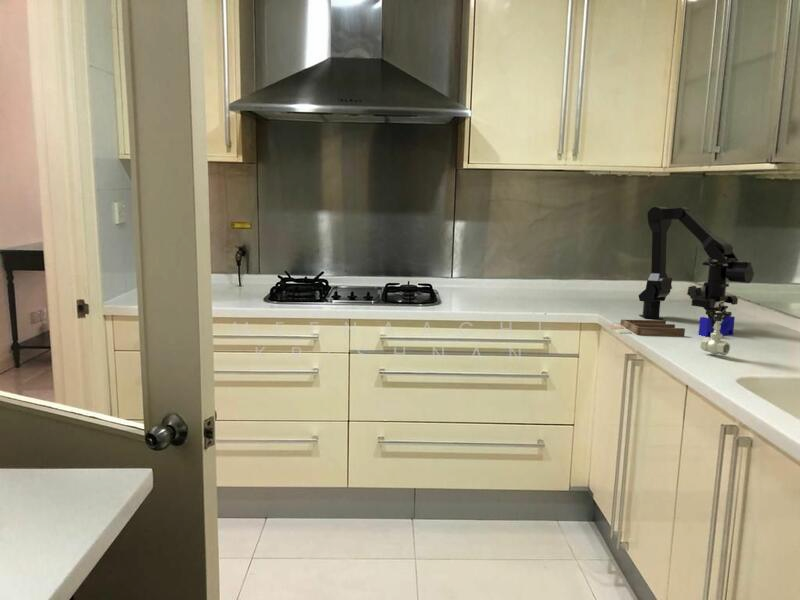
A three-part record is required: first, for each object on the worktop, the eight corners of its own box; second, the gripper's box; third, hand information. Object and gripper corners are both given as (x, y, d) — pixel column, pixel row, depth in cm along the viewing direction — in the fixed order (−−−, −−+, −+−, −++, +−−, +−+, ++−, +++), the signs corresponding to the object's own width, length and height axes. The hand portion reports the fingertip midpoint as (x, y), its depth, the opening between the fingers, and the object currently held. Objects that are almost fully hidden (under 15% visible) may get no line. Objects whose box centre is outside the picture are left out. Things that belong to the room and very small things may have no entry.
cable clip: (721, 332, 215) (722, 314, 214) (732, 335, 211) (734, 317, 210) (694, 334, 210) (696, 316, 210) (706, 337, 206) (707, 318, 206)
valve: (710, 350, 187) (714, 308, 185) (732, 355, 181) (737, 312, 179) (696, 352, 183) (700, 310, 182) (718, 357, 178) (722, 314, 176)
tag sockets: (605, 326, 220) (606, 319, 220) (664, 327, 221) (664, 320, 221) (621, 335, 205) (622, 327, 205) (684, 336, 206) (684, 328, 206)
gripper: (708, 276, 227) (704, 320, 229) (678, 278, 216) (674, 325, 218) (740, 279, 218) (735, 325, 220) (711, 282, 207) (706, 330, 209)
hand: (712, 326), depth 217 cm, fingers closed
